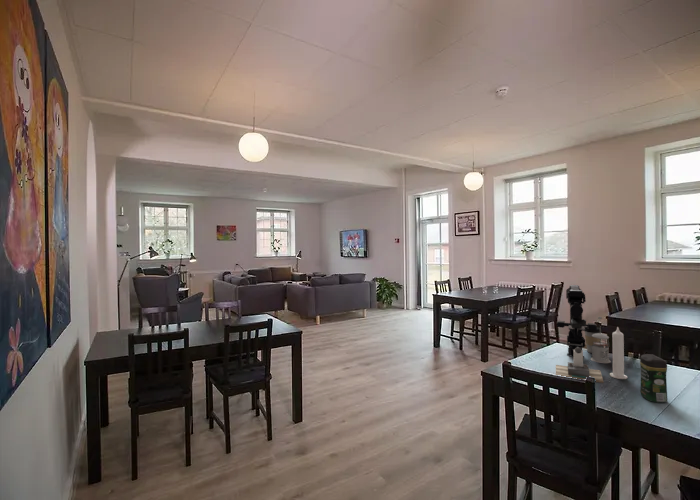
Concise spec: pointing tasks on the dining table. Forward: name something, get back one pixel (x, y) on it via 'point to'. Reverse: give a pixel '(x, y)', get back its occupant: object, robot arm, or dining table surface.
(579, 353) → the lever
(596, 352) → the french press
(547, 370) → the dining table surface
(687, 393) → the dining table surface
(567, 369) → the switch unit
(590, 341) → the coffee cup
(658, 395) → the coffee jar
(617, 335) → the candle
